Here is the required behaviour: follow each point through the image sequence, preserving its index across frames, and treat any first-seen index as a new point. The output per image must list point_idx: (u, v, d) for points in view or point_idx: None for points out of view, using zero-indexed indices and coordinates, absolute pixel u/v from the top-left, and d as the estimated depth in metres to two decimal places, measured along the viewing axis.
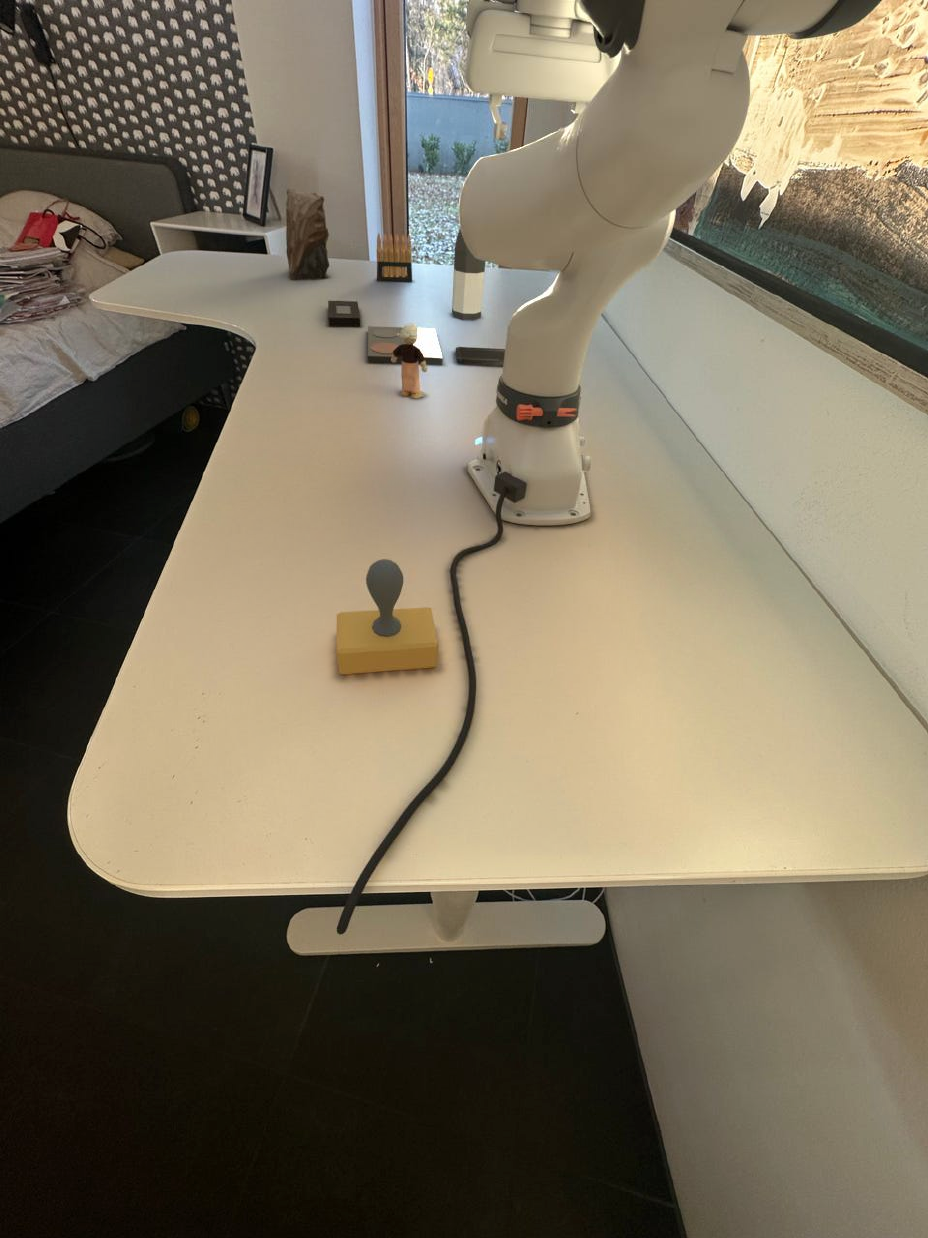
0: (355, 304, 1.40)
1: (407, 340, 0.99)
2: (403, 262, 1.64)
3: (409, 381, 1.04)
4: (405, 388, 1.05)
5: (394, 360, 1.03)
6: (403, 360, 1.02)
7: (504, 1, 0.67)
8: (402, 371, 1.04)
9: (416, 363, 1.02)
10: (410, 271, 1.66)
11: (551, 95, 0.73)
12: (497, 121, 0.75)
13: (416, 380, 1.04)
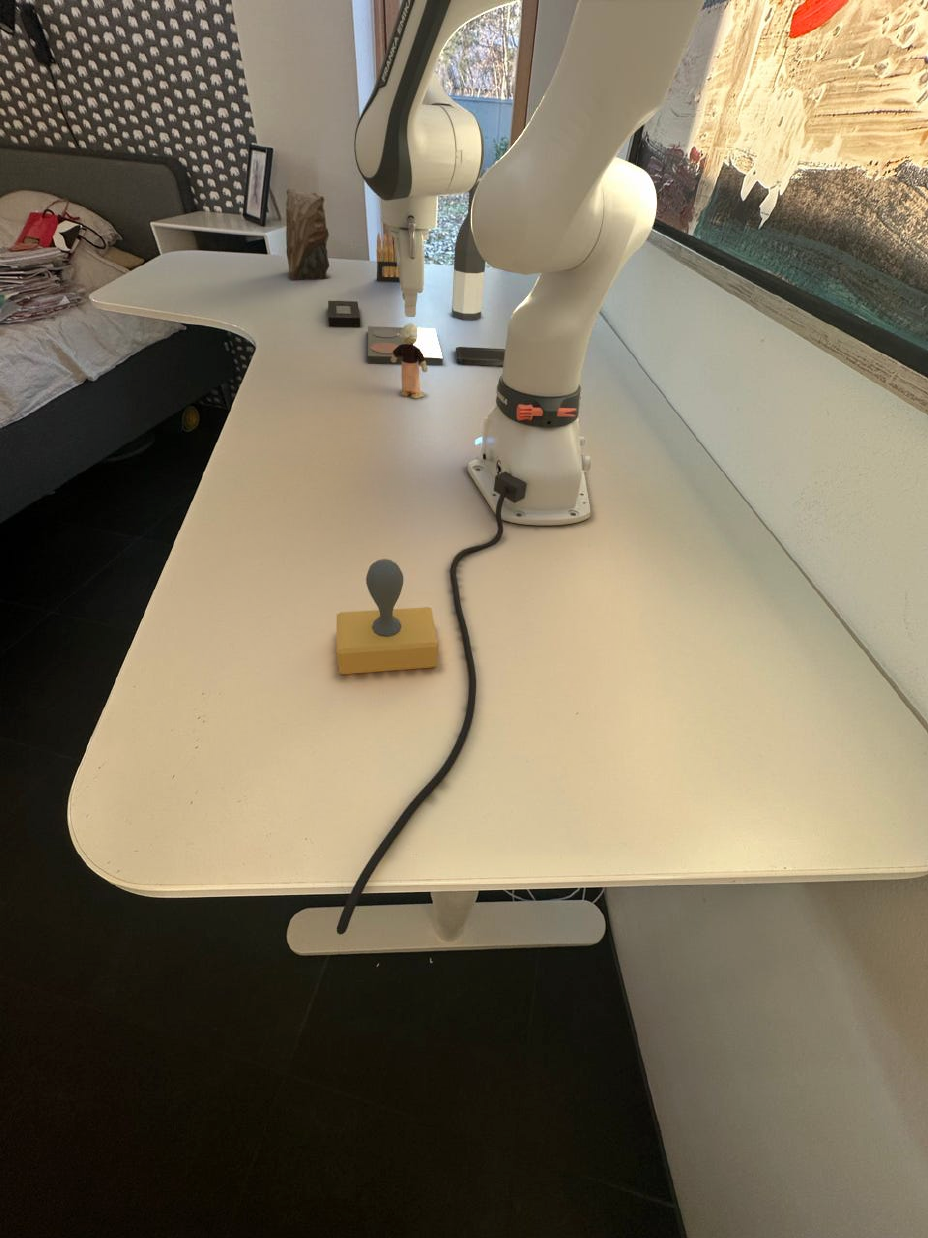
0: (355, 304, 1.40)
1: (407, 340, 0.99)
2: None
3: (409, 381, 1.04)
4: (405, 388, 1.05)
5: (394, 360, 1.03)
6: (403, 360, 1.02)
7: None
8: (402, 371, 1.04)
9: (416, 363, 1.02)
10: None
11: None
12: None
13: (416, 380, 1.04)
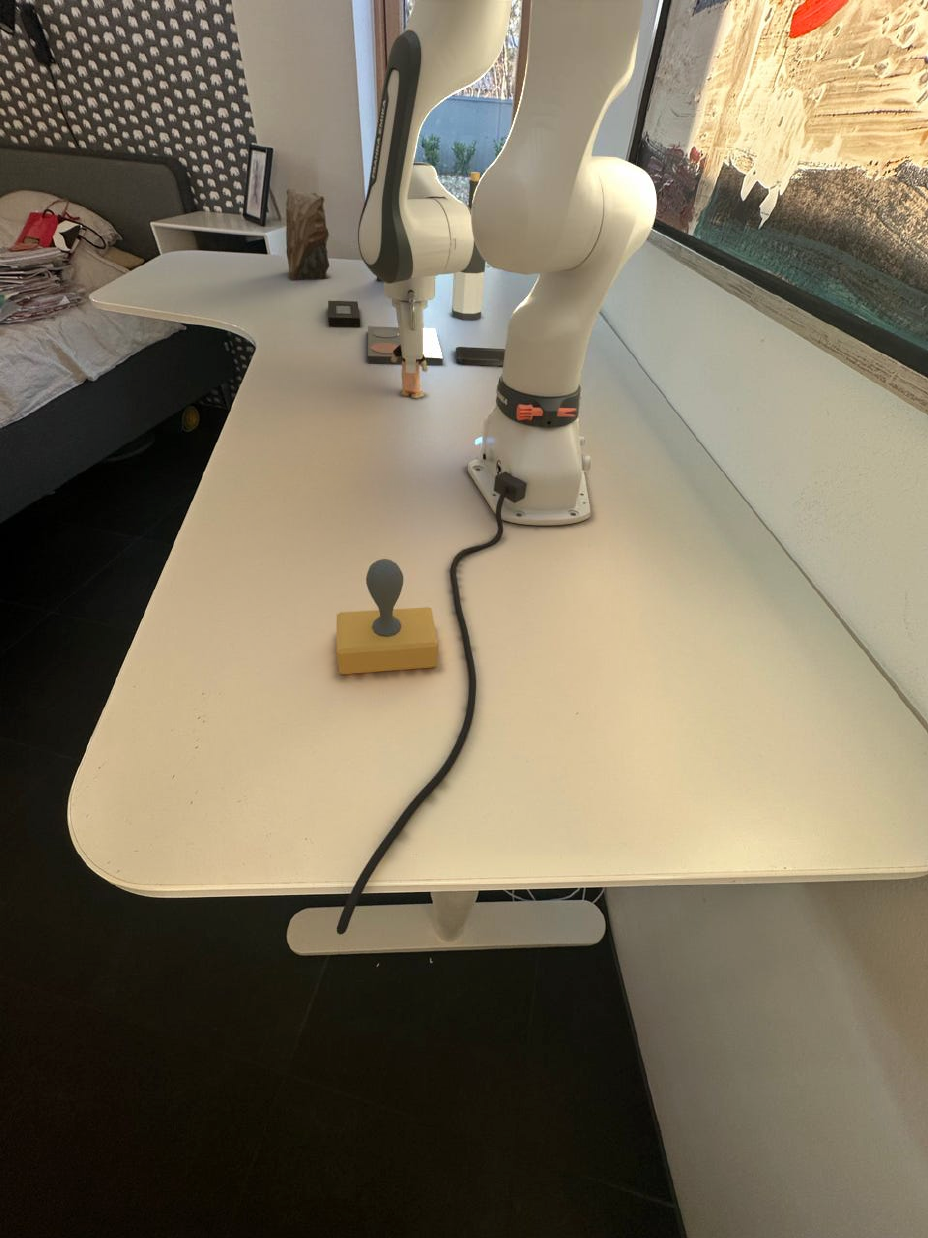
0: (355, 304, 1.40)
1: None
2: None
3: (409, 381, 1.04)
4: (405, 388, 1.05)
5: (394, 360, 1.03)
6: (403, 360, 1.02)
7: None
8: (402, 371, 1.04)
9: (416, 363, 1.02)
10: None
11: None
12: (415, 362, 1.00)
13: (416, 380, 1.04)
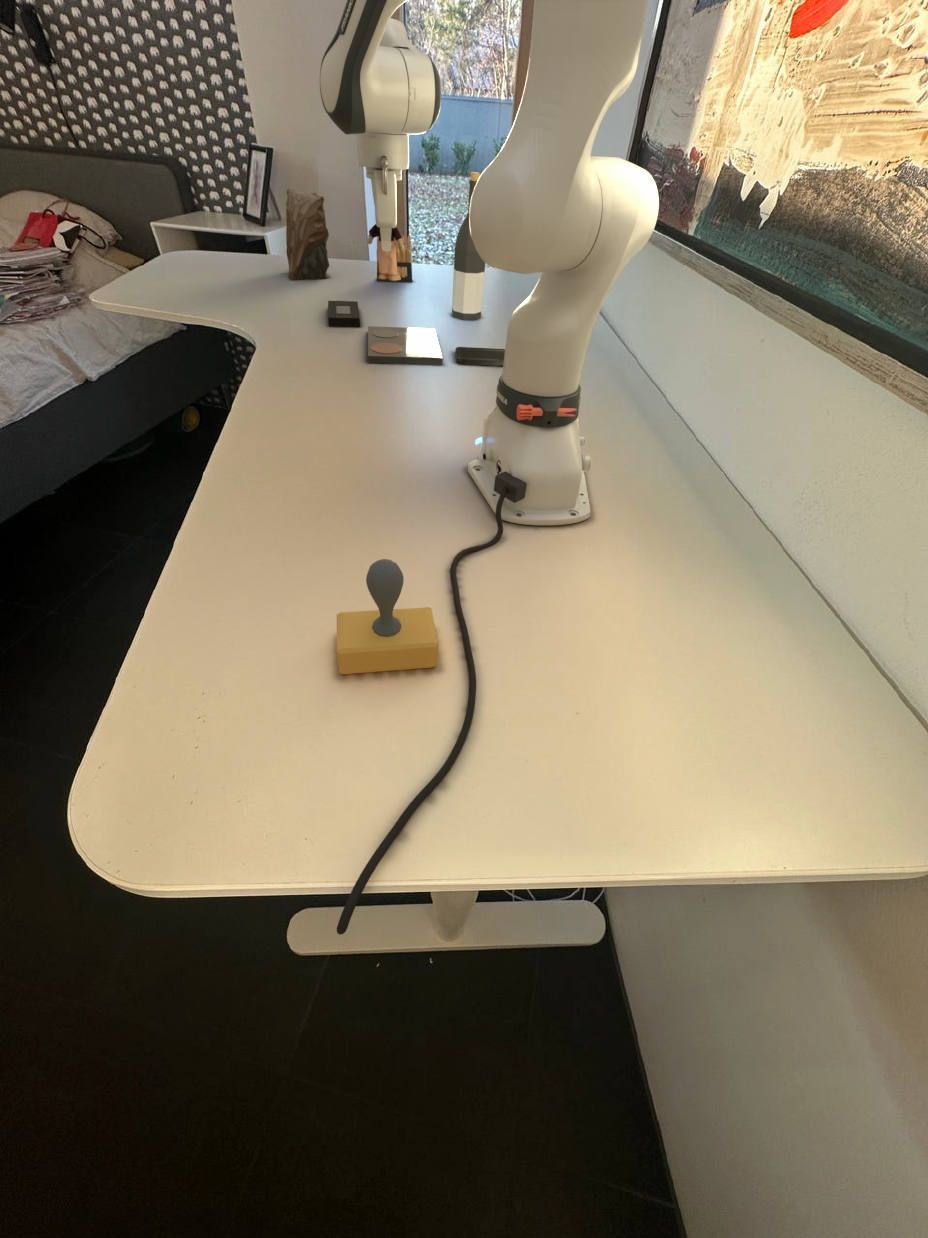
0: (355, 304, 1.40)
1: None
2: (403, 262, 1.64)
3: (386, 262, 1.06)
4: (382, 271, 1.07)
5: (370, 241, 1.05)
6: (380, 239, 1.04)
7: None
8: (379, 252, 1.06)
9: (393, 242, 1.04)
10: (410, 271, 1.66)
11: None
12: None
13: (393, 260, 1.06)
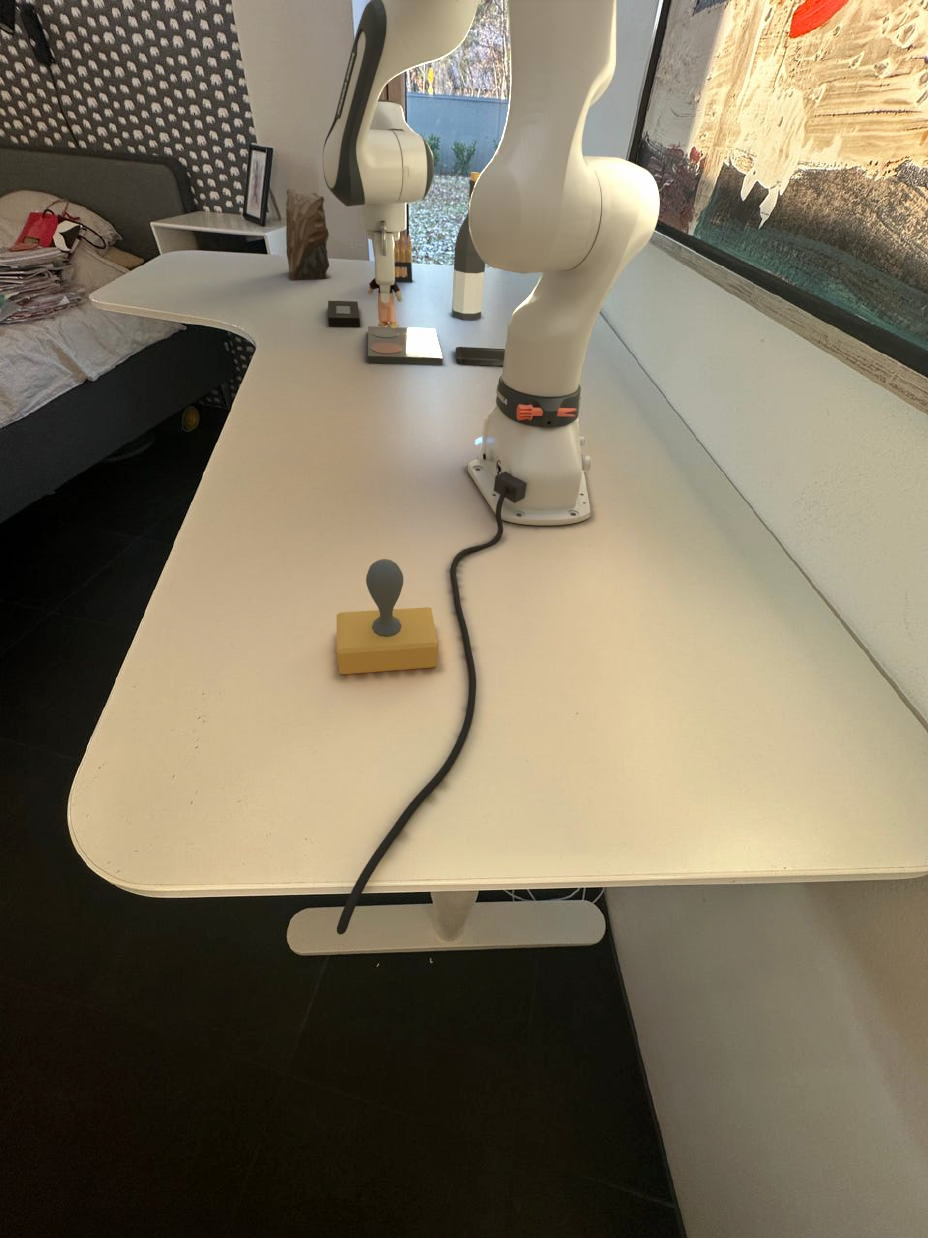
0: (355, 304, 1.40)
1: None
2: (403, 262, 1.64)
3: (385, 311, 1.14)
4: (382, 319, 1.15)
5: (370, 292, 1.13)
6: (379, 291, 1.12)
7: None
8: (378, 302, 1.14)
9: (391, 293, 1.12)
10: (410, 271, 1.66)
11: None
12: (389, 291, 1.10)
13: (392, 310, 1.14)
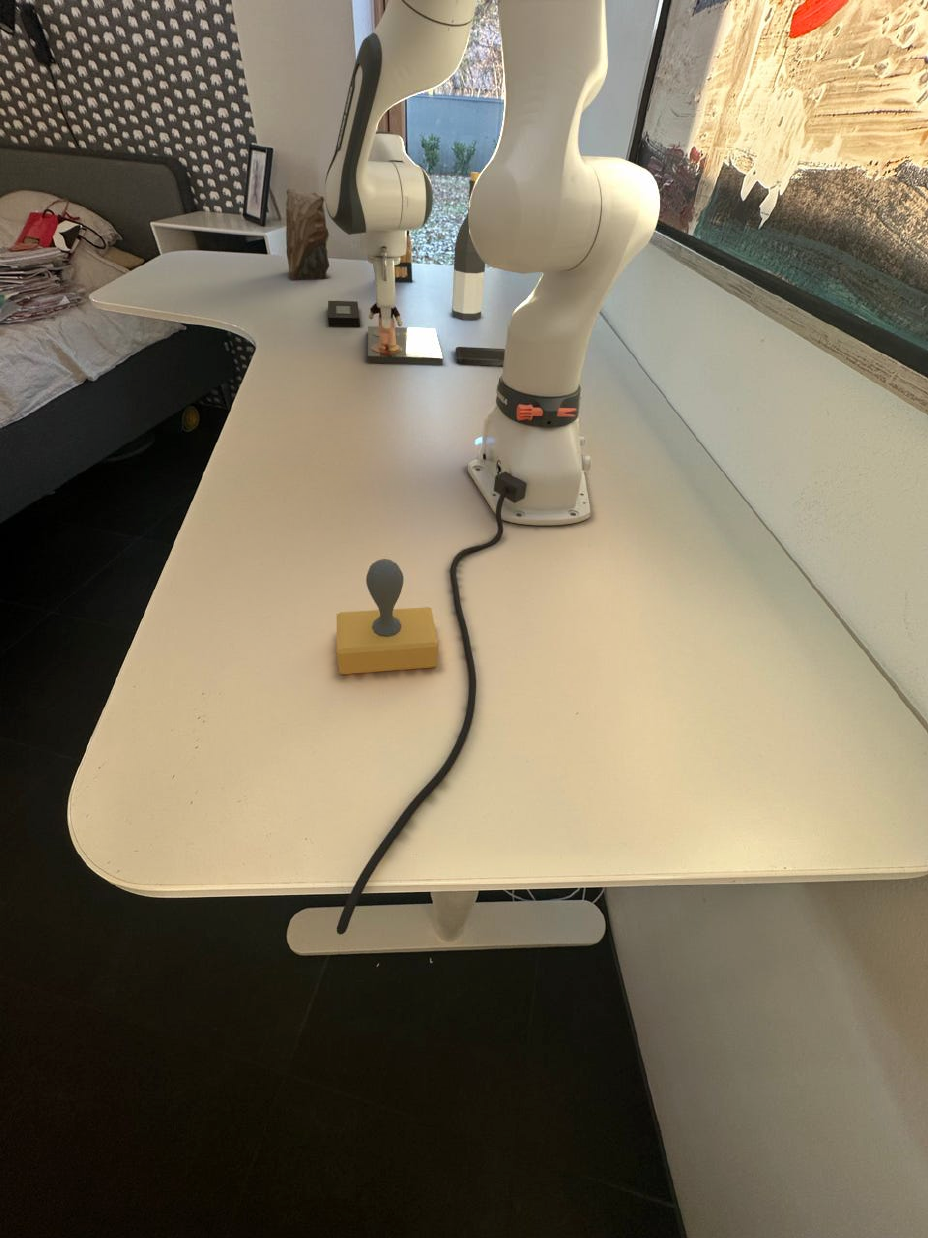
0: (355, 304, 1.40)
1: None
2: (403, 262, 1.64)
3: (386, 335, 1.17)
4: (382, 342, 1.18)
5: (371, 317, 1.16)
6: (380, 316, 1.15)
7: None
8: (379, 326, 1.17)
9: (392, 318, 1.15)
10: (410, 271, 1.66)
11: None
12: (390, 317, 1.11)
13: (392, 334, 1.17)
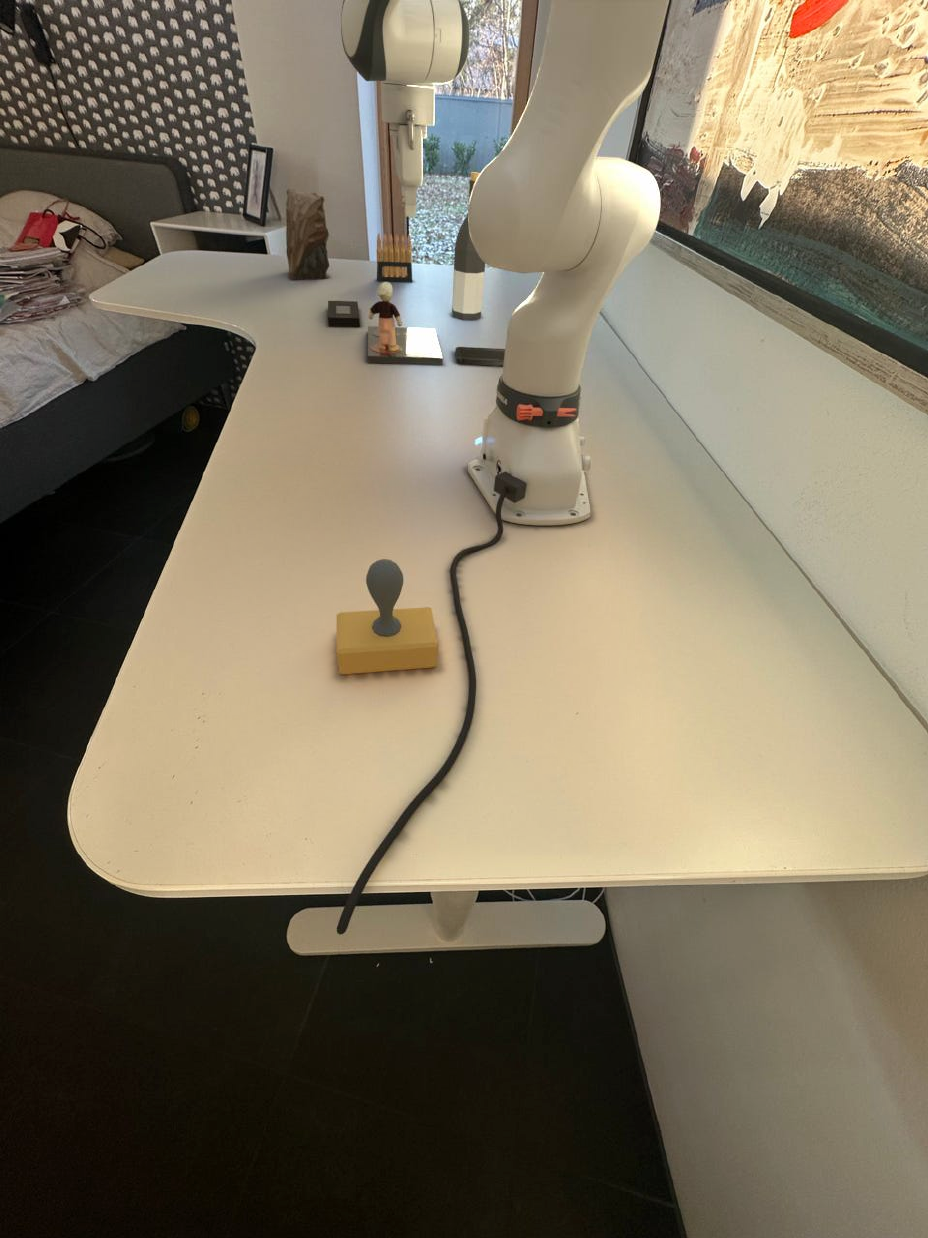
0: (355, 304, 1.40)
1: (384, 297, 1.12)
2: (403, 262, 1.64)
3: (386, 335, 1.17)
4: (382, 342, 1.18)
5: (371, 317, 1.16)
6: (380, 316, 1.15)
7: None
8: (379, 326, 1.17)
9: (392, 318, 1.15)
10: (410, 271, 1.66)
11: None
12: (415, 203, 0.96)
13: (392, 334, 1.17)
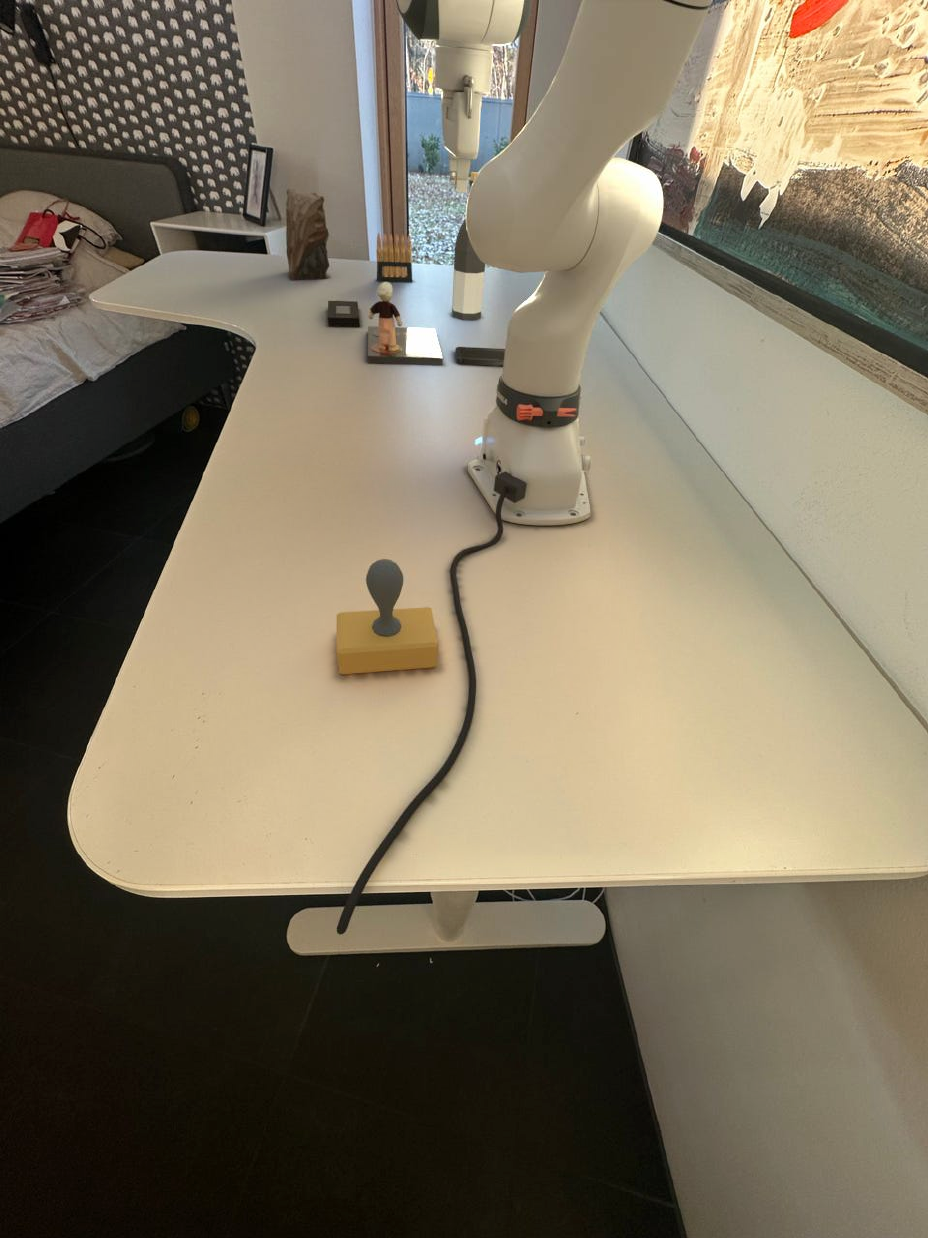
0: (355, 304, 1.40)
1: (384, 297, 1.12)
2: (403, 262, 1.64)
3: (386, 335, 1.17)
4: (382, 342, 1.18)
5: (371, 317, 1.16)
6: (380, 316, 1.15)
7: None
8: (379, 326, 1.17)
9: (392, 318, 1.15)
10: (410, 271, 1.66)
11: None
12: None
13: (392, 334, 1.17)
